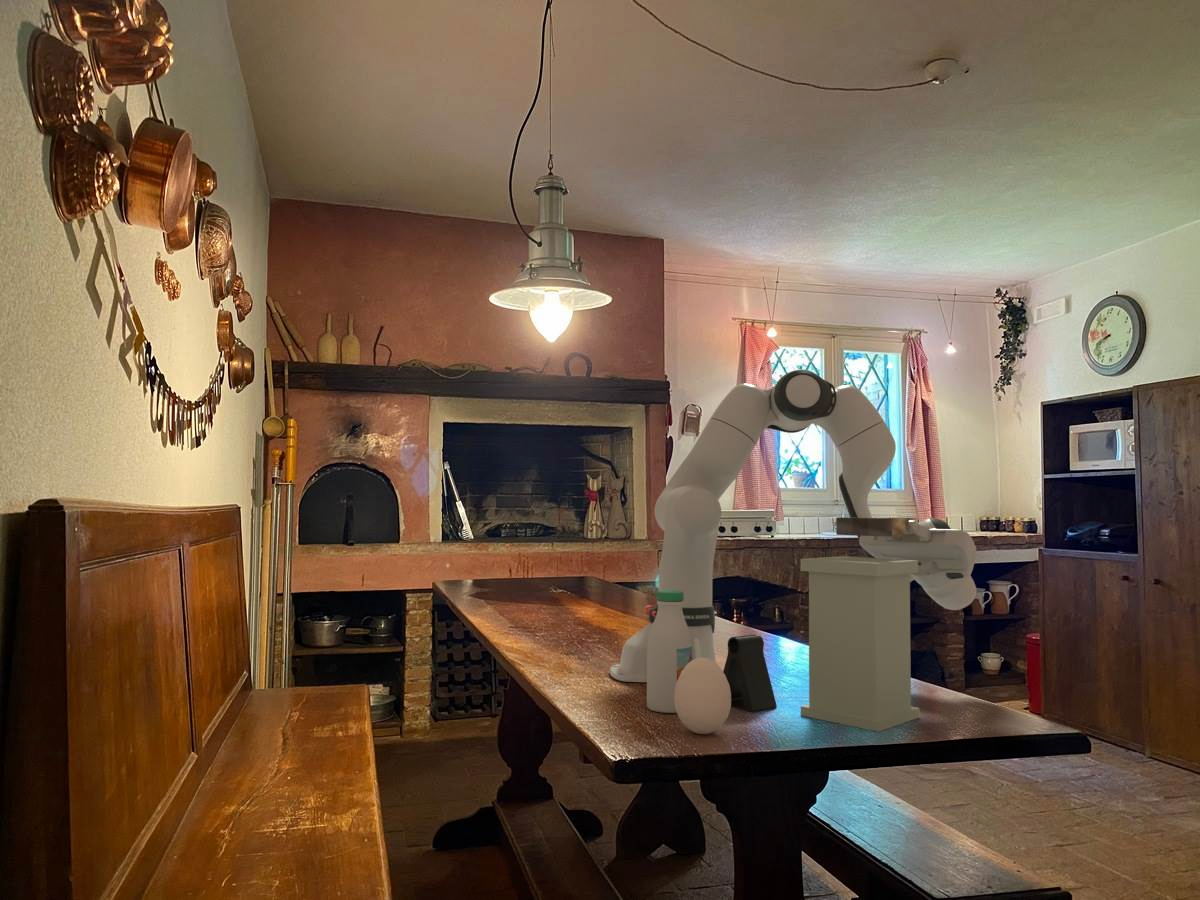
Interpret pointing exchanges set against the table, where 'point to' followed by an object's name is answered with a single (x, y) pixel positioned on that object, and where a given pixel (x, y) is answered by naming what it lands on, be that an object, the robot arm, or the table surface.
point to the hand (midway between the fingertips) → (898, 523)
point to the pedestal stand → (860, 641)
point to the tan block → (872, 526)
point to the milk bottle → (667, 651)
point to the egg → (702, 696)
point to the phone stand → (748, 674)
